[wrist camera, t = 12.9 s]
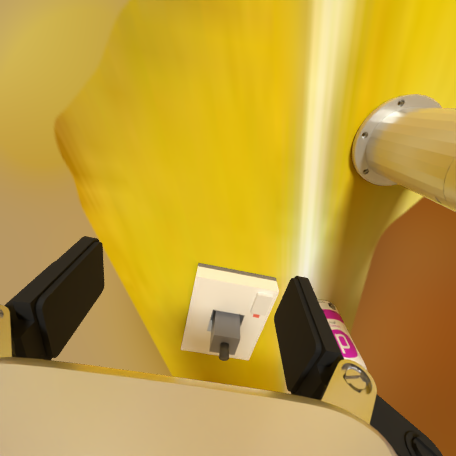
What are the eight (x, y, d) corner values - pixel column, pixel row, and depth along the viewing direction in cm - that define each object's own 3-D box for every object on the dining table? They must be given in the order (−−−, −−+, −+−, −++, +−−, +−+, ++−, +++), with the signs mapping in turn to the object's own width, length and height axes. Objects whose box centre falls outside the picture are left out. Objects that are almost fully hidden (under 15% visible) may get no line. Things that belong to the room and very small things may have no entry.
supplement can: (301, 297, 50) (326, 366, 37) (340, 298, 50) (378, 368, 37) (295, 323, 54) (315, 394, 41) (330, 324, 54) (362, 396, 41)
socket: (275, 277, 47) (279, 295, 43) (247, 344, 58) (248, 363, 53) (198, 263, 46) (195, 279, 42) (183, 334, 56) (179, 353, 52)
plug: (239, 305, 50) (240, 351, 41) (234, 321, 52) (234, 367, 43) (216, 301, 50) (212, 346, 40) (212, 317, 52) (208, 363, 43)
